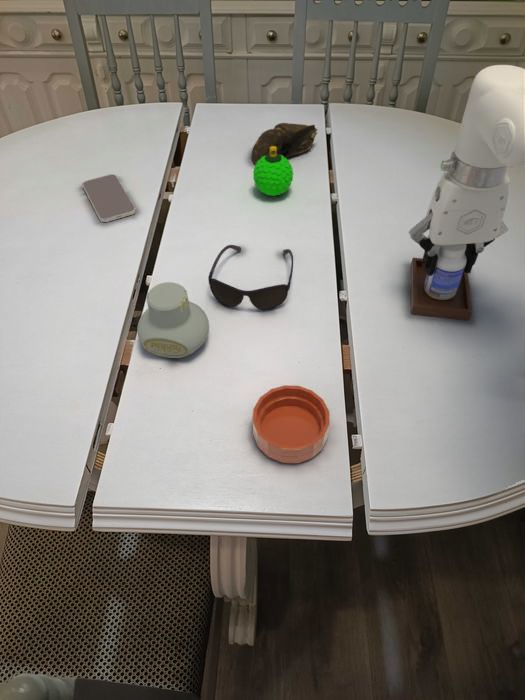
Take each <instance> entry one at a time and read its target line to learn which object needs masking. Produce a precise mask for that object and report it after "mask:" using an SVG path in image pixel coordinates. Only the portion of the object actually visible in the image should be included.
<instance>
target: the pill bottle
mask: <svg viewBox="0 0 525 700" xmlns="http://www.w3.org/2000/svg"><path fill="white" fill-rule="evenodd" d="M465 250H466V244H456V245H442V246H441V247H440V249H439V250H438V251H437V255H438V260H437V264H436V267H435V270H434V274H433V275H432V276H428V274H427V276H426V280H425V283H424V290H425V292H426V293H427V294H428V295H429V296H430V297H432V298H434V299H438V300H448V299H451V298H452V297H454V296H455V294H456V292H457V289H458V286H459V283H460V280H461V277H462V274H463V271H464V268H465V265H466V262H467V258H466V255H465V254H464V253H465Z"/></svg>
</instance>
